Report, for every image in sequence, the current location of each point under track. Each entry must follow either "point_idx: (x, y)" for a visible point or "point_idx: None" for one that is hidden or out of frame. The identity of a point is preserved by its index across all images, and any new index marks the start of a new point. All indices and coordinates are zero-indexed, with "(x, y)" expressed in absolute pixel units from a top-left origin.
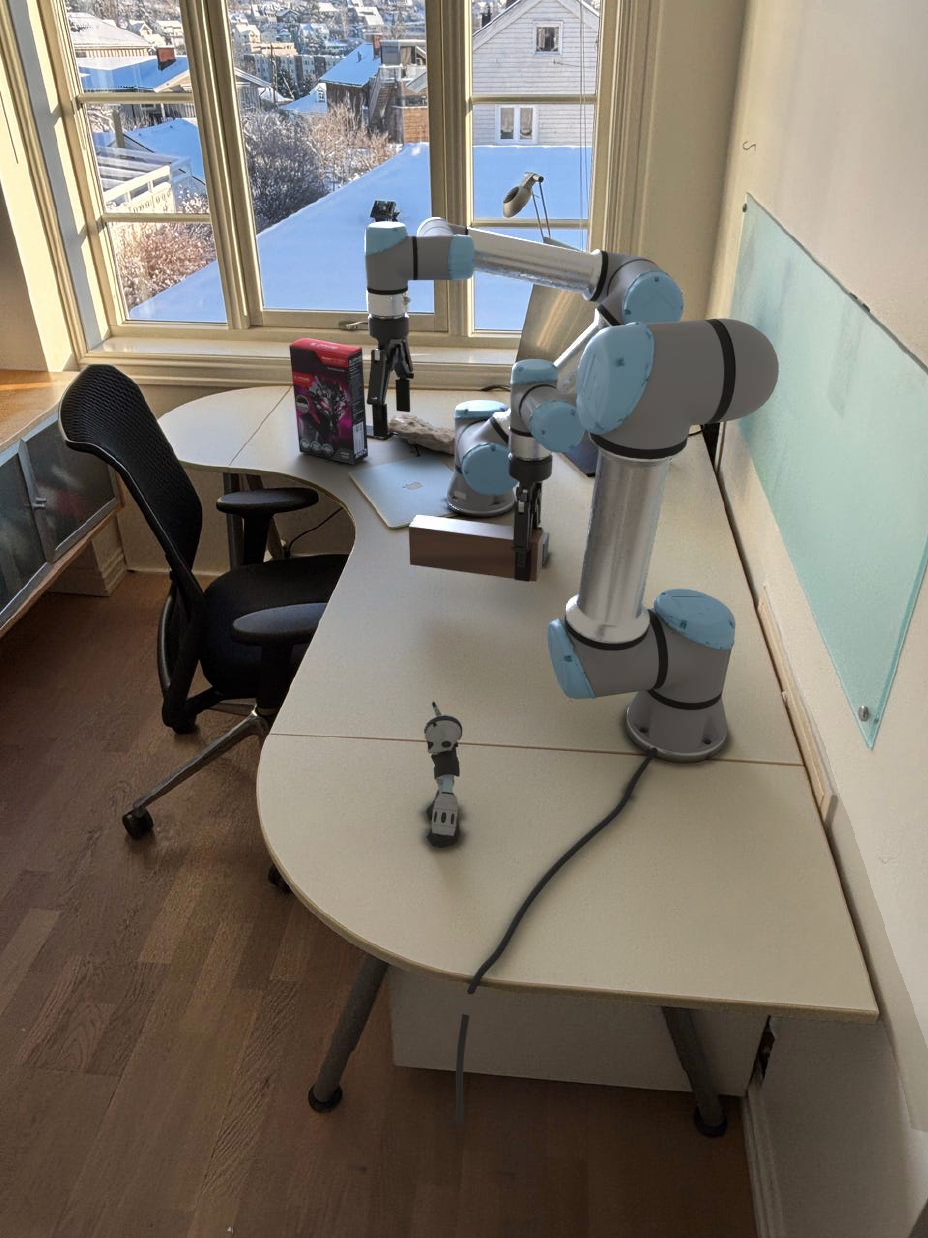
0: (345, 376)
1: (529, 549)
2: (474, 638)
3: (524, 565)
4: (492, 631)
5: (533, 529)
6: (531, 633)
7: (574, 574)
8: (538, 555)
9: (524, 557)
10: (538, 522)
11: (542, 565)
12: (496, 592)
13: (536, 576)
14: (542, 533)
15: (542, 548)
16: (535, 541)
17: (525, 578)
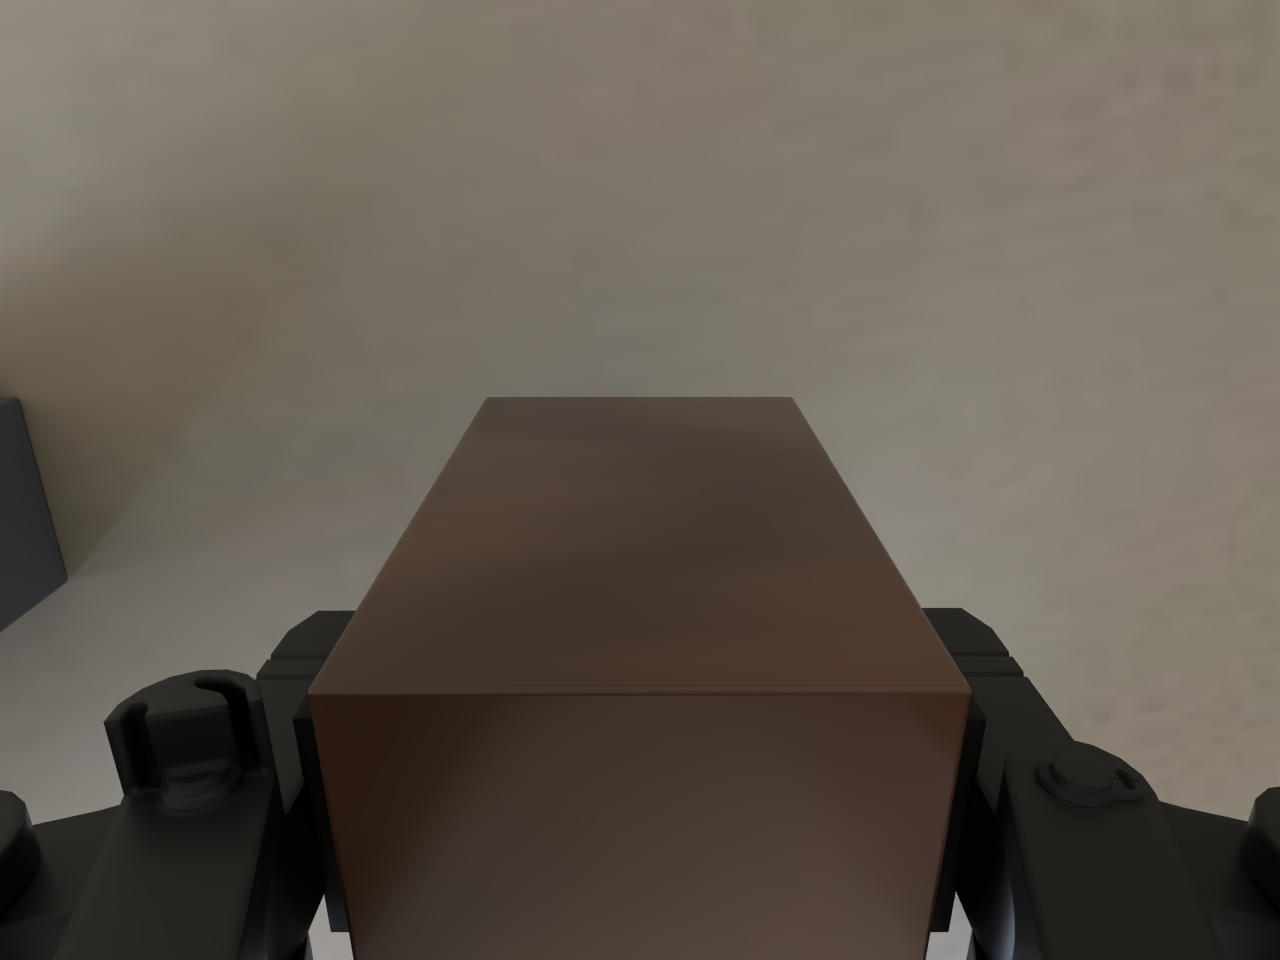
0: None
1: (1095, 759)
2: (1111, 631)
3: (992, 637)
4: (1018, 548)
5: (356, 878)
6: (1009, 286)
7: (6, 100)
8: (798, 524)
9: (1043, 721)
10: (6, 859)
11: (17, 405)
12: None
13: (803, 418)
14: (462, 686)
15: (452, 504)
16: (914, 753)
17: None
